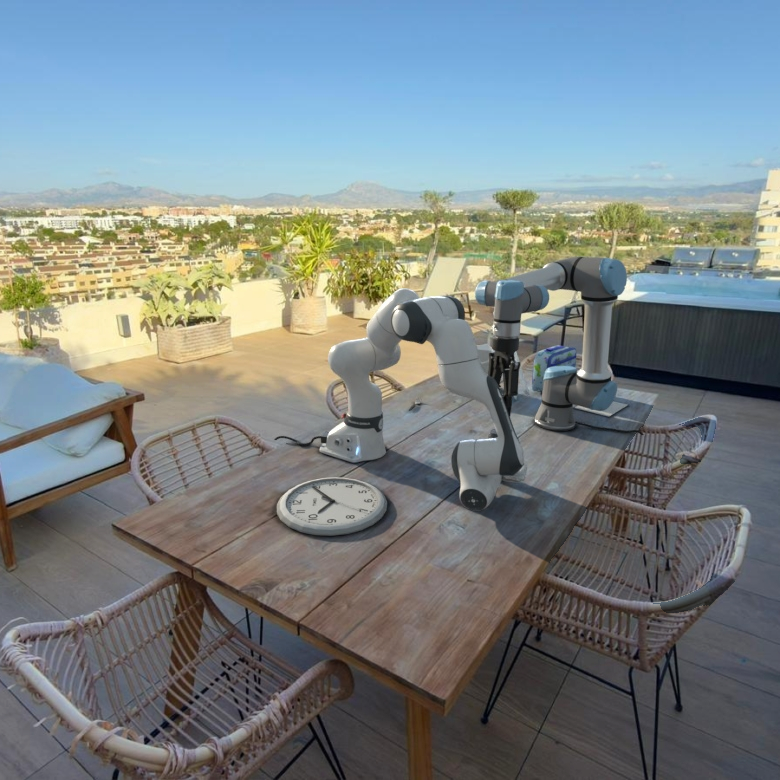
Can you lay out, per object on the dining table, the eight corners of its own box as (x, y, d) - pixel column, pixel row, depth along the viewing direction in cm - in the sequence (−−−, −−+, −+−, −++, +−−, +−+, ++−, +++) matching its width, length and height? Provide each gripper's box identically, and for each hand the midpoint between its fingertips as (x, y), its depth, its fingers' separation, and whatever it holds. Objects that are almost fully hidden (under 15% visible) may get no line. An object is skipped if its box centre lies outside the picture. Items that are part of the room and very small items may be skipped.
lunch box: (548, 398, 236) (553, 353, 229) (527, 393, 243) (531, 349, 237) (575, 387, 253) (581, 344, 247) (555, 382, 260) (560, 341, 254)
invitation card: (608, 416, 214) (573, 407, 224) (608, 416, 214) (573, 408, 224) (628, 404, 229) (594, 396, 238) (628, 405, 229) (594, 397, 238)
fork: (405, 411, 216) (405, 406, 215) (417, 400, 230) (417, 395, 230) (411, 412, 215) (411, 407, 214) (422, 400, 229) (422, 396, 229)
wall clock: (392, 527, 129) (268, 531, 127) (391, 533, 130) (269, 537, 127) (383, 473, 158) (282, 475, 155) (383, 478, 158) (282, 480, 156)
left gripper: (524, 471, 143) (531, 452, 156) (452, 458, 151) (464, 441, 163) (522, 492, 145) (529, 472, 157) (451, 478, 152) (463, 460, 165)
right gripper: (478, 330, 155) (473, 404, 163) (512, 344, 139) (505, 425, 146) (500, 329, 158) (495, 401, 165) (536, 342, 141) (528, 422, 148)
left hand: (496, 456), depth 160 cm, fingers closed on jar, 5 cm apart
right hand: (499, 412), depth 155 cm, fingers closed on lid, 6 cm apart
